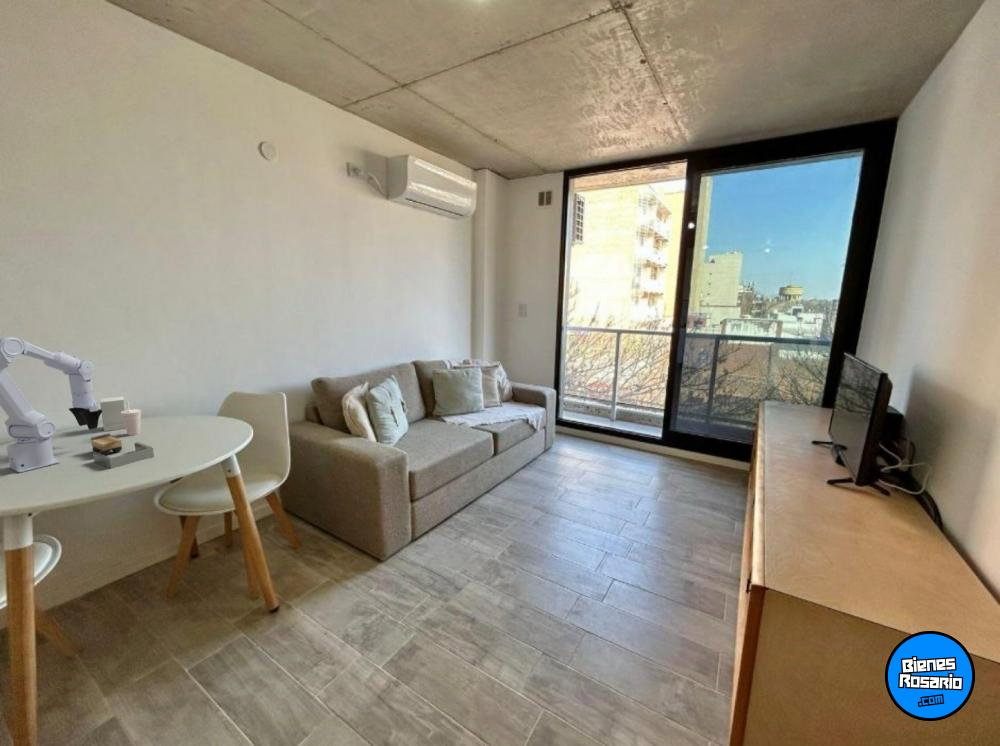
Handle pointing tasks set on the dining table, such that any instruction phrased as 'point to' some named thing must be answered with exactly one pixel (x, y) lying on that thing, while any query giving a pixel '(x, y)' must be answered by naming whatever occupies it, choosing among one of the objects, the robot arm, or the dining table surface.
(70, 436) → the dining table surface
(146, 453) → the dock
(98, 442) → the trolley
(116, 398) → the supplement box
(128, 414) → the smoothie
